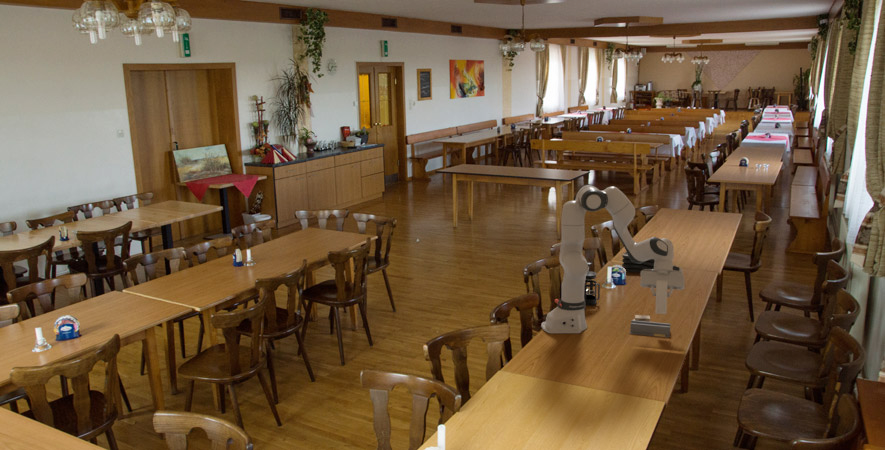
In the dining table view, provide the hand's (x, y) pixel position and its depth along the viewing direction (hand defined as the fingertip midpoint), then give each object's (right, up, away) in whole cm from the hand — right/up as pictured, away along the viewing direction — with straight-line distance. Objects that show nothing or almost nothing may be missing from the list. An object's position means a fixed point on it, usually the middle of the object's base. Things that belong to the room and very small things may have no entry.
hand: (661, 295), depth 315 cm
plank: (+1, -9, +3) cm, 9 cm away
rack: (-3, -19, +8) cm, 20 cm away
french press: (-23, -10, +52) cm, 57 cm away
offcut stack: (-6, -16, +13) cm, 22 cm away
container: (+28, +6, +116) cm, 120 cm away
